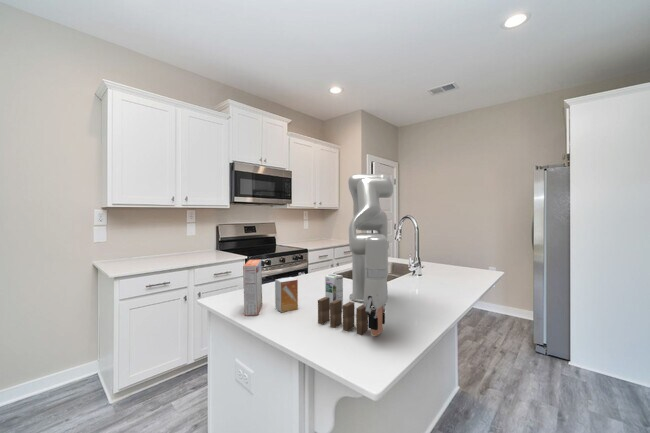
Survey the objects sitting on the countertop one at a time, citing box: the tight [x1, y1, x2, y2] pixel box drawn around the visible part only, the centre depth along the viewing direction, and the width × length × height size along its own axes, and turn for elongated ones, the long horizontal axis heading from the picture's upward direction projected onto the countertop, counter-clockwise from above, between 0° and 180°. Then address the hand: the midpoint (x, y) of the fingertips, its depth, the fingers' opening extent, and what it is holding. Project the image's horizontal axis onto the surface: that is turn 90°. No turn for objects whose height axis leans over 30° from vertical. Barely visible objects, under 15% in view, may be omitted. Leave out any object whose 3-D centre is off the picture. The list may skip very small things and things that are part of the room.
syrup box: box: [324, 273, 344, 309], centre depth 126 cm, size 6×6×14 cm
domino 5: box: [370, 306, 384, 337], centre depth 98 cm, size 2×5×9 cm, turn 145°
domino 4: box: [355, 303, 369, 336], centre depth 101 cm, size 2×5×9 cm, turn 145°
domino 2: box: [329, 299, 343, 329], centre depth 108 cm, size 2×5×9 cm, turn 145°
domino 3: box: [342, 301, 356, 333], centre depth 104 cm, size 2×5×9 cm, turn 145°
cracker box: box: [242, 259, 263, 317], centre depth 124 cm, size 14×6×21 cm, turn 5°
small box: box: [274, 276, 299, 313], centre depth 126 cm, size 8×6×13 cm
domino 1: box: [317, 296, 330, 326], centre depth 111 cm, size 2×5×9 cm, turn 145°
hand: (376, 325), depth 98 cm, fingers closed on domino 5, 4 cm apart
